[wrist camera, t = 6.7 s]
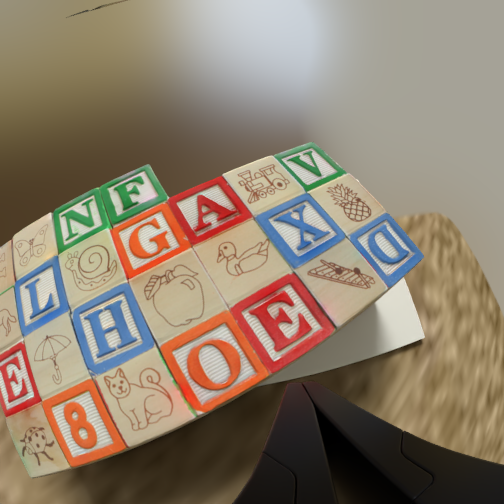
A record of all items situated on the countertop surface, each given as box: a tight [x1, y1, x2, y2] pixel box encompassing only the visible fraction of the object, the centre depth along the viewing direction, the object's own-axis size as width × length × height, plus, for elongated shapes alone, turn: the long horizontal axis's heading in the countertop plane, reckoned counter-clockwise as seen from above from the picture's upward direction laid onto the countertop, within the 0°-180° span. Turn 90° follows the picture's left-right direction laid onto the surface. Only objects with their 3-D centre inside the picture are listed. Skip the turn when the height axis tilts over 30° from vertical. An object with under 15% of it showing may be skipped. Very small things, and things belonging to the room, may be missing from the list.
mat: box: [258, 179, 425, 386], centre depth 18 cm, size 14×25×1 cm, turn 101°
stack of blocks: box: [0, 142, 424, 478], centre depth 14 cm, size 21×6×12 cm
